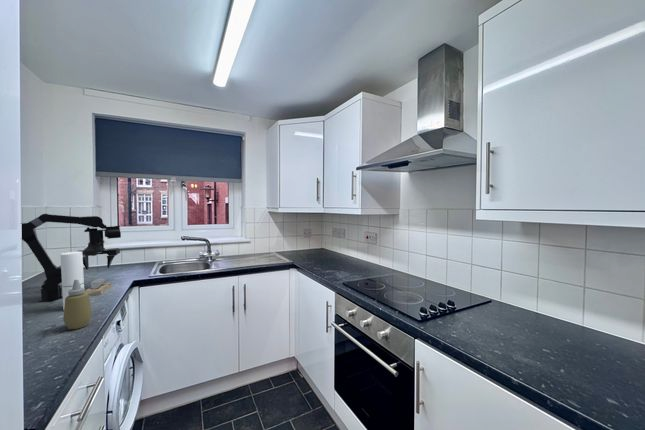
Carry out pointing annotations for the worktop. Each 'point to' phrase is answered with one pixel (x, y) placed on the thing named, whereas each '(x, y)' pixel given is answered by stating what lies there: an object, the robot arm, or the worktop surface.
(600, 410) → the worktop surface
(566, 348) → the worktop surface
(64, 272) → the cylindrical container
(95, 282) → the clip
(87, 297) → the squeeze bottle
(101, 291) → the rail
